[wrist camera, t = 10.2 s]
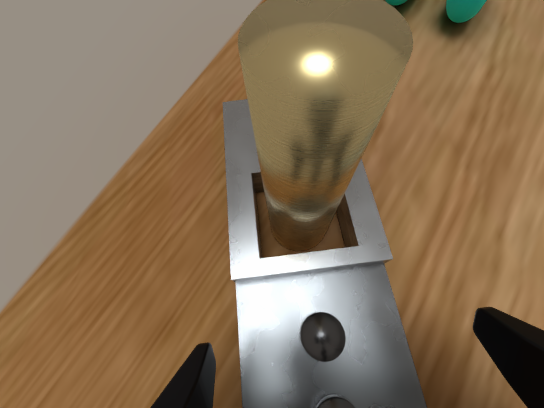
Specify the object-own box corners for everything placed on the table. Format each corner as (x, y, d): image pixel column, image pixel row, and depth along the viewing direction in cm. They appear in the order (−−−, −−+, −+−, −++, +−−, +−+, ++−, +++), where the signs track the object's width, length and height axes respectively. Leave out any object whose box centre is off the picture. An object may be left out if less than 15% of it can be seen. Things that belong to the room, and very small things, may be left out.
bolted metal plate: (430, 459, 13) (486, 514, 10) (251, 482, 13) (238, 546, 10) (332, 114, 23) (341, 76, 19) (230, 127, 23) (219, 92, 19)
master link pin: (330, 248, 18) (437, 89, 5) (272, 253, 18) (238, 107, 5) (322, 196, 20) (388, -22, 7) (269, 200, 20) (237, -6, 7)
